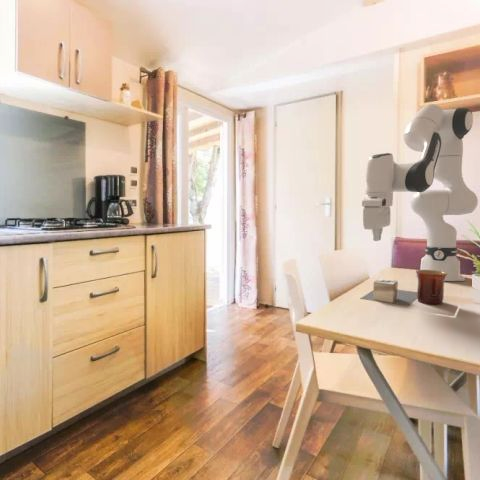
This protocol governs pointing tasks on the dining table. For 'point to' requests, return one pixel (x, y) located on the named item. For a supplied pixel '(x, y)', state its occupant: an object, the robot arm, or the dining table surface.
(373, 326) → the dining table surface
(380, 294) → the letter block
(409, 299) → the mat
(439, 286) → the mug
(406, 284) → the dining table surface
